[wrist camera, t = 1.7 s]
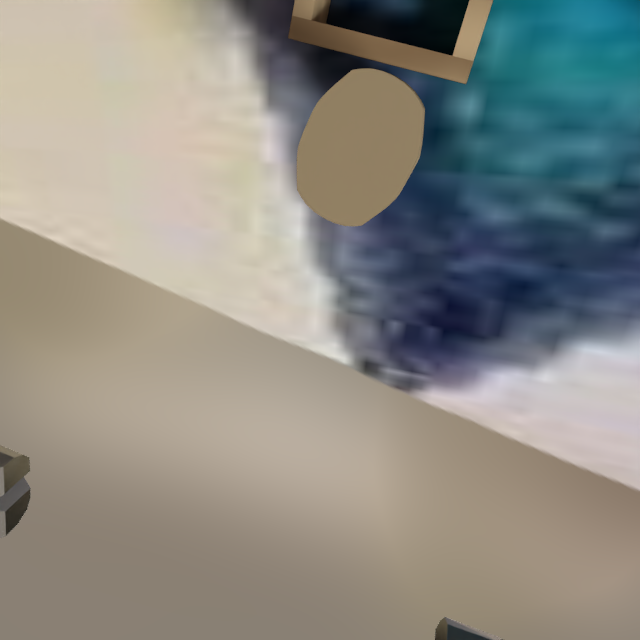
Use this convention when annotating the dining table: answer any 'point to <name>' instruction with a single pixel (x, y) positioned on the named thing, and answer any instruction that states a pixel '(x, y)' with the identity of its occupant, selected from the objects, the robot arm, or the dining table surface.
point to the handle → (360, 146)
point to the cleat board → (315, 31)
